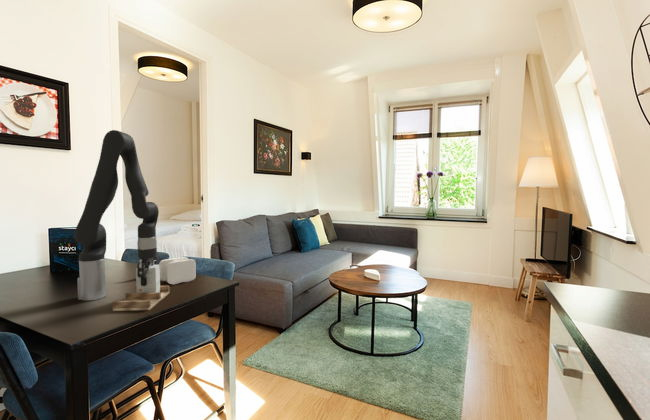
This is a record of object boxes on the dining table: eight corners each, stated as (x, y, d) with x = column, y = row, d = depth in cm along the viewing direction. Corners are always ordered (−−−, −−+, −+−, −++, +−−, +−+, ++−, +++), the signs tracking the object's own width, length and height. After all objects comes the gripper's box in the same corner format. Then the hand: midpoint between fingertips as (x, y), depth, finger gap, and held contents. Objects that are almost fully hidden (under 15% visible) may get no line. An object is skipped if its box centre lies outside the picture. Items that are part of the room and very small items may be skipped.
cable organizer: (166, 286, 164) (165, 263, 163) (159, 281, 171) (158, 259, 170) (196, 280, 174) (195, 259, 173) (187, 276, 182) (187, 255, 181)
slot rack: (112, 310, 131) (112, 302, 131) (138, 293, 153) (138, 285, 152) (149, 310, 133) (149, 301, 132) (169, 292, 154) (169, 285, 154)
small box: (160, 292, 151) (159, 264, 151) (156, 296, 145) (155, 267, 144) (141, 292, 150) (140, 264, 149) (136, 297, 144) (135, 268, 143)
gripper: (145, 244, 153) (146, 278, 154) (130, 250, 138) (131, 287, 140) (162, 244, 153) (163, 278, 154) (148, 250, 139) (149, 287, 140)
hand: (148, 282), depth 147 cm, fingers open, 8 cm apart
